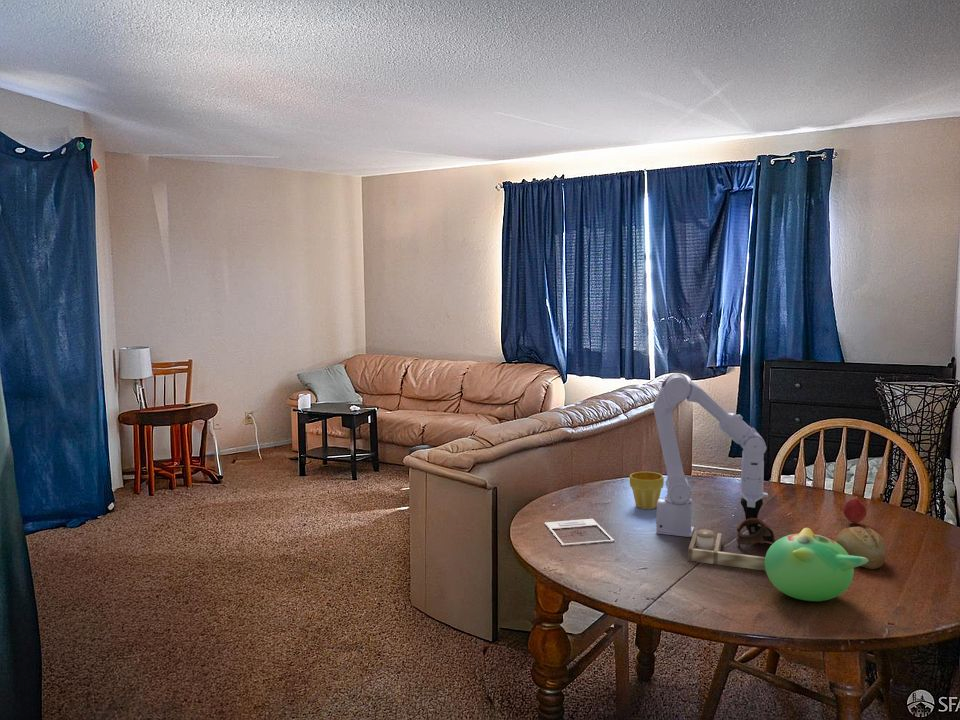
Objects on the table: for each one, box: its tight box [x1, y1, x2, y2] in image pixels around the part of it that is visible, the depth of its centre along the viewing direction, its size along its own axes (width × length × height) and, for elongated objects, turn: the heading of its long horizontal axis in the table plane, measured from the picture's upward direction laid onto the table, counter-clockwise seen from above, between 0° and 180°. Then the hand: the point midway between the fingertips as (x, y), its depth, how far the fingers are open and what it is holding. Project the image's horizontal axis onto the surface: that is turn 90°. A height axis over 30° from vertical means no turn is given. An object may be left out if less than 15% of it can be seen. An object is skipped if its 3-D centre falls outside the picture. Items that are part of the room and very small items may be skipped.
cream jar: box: [696, 529, 715, 551], centre depth 184 cm, size 4×4×6 cm
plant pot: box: [629, 471, 665, 510], centre depth 223 cm, size 10×10×10 cm
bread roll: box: [835, 525, 888, 570], centre depth 178 cm, size 10×15×8 cm, turn 1°
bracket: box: [687, 529, 766, 572], centre depth 182 cm, size 22×14×3 cm, turn 68°
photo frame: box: [544, 518, 615, 547], centre depth 201 cm, size 15×1×18 cm
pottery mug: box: [736, 517, 777, 547], centre depth 189 cm, size 12×10×8 cm
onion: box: [842, 496, 868, 525], centre depth 203 cm, size 6×6×8 cm
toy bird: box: [764, 527, 868, 602], centre depth 157 cm, size 18×17×15 cm
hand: (751, 525), depth 196 cm, fingers closed
